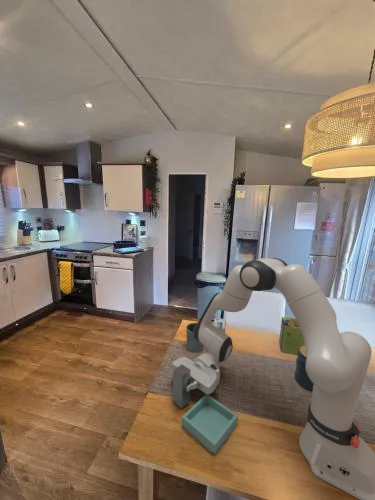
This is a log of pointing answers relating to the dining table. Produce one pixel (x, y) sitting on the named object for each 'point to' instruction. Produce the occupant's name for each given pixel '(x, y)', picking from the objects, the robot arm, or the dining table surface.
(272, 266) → the robot arm
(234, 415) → the tray
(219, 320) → the light bulb box
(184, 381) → the brushed steel pillar
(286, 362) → the dining table surface
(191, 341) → the dark green embossed cup
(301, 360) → the canister
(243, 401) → the dining table surface
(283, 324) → the protein box
